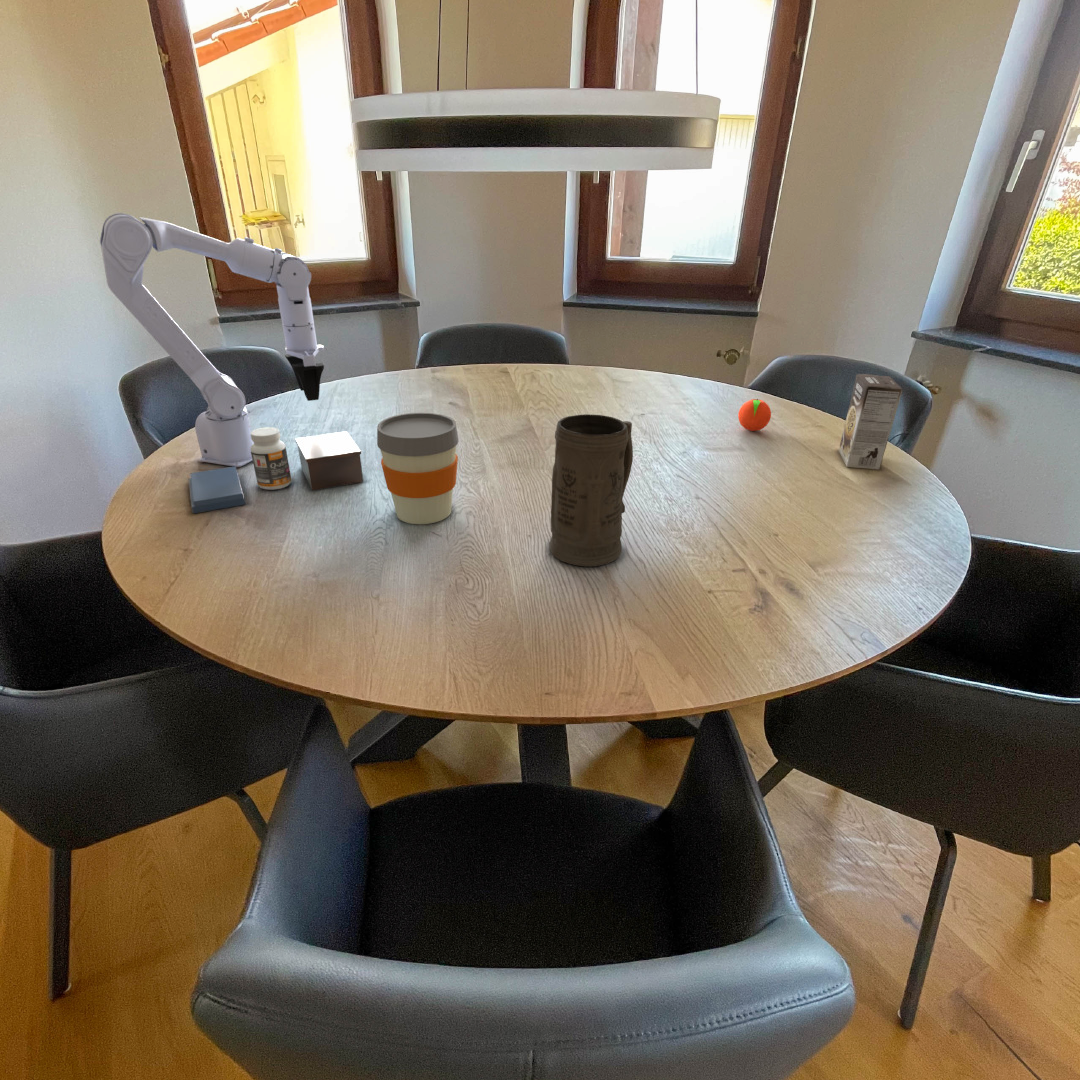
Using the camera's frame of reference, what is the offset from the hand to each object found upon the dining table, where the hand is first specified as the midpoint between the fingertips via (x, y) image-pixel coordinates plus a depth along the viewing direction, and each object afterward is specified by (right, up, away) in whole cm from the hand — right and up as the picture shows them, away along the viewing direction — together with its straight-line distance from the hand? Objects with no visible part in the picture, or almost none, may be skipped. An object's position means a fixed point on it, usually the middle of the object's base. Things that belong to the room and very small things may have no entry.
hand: (309, 394), depth 130 cm
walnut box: (+7, -17, -9) cm, 21 cm away
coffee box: (+110, -13, +1) cm, 110 cm away
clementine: (+93, -5, +16) cm, 95 cm away
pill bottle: (-2, -19, -13) cm, 23 cm away
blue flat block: (-10, -21, -17) cm, 29 cm away
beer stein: (+54, -29, -30) cm, 68 cm away
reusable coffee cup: (+27, -24, -22) cm, 42 cm away
